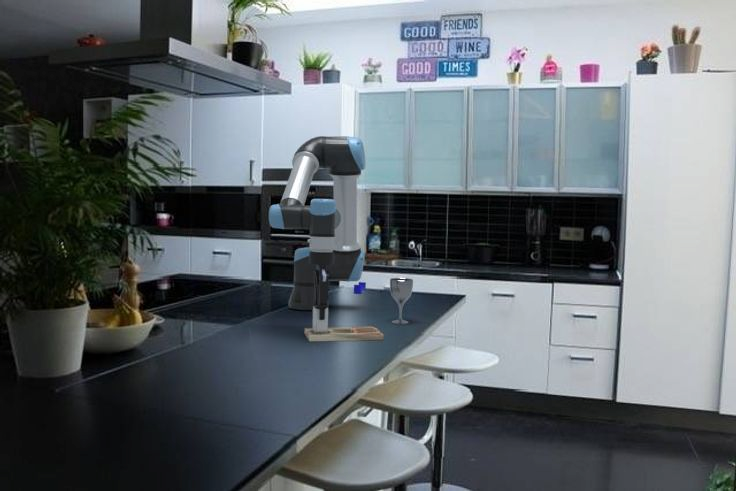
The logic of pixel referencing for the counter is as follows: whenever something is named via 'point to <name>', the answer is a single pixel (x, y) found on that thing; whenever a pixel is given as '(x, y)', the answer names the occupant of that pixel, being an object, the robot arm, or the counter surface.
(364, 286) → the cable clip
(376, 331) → the hole rail
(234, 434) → the counter surface
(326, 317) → the steel peg
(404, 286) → the wine glass
